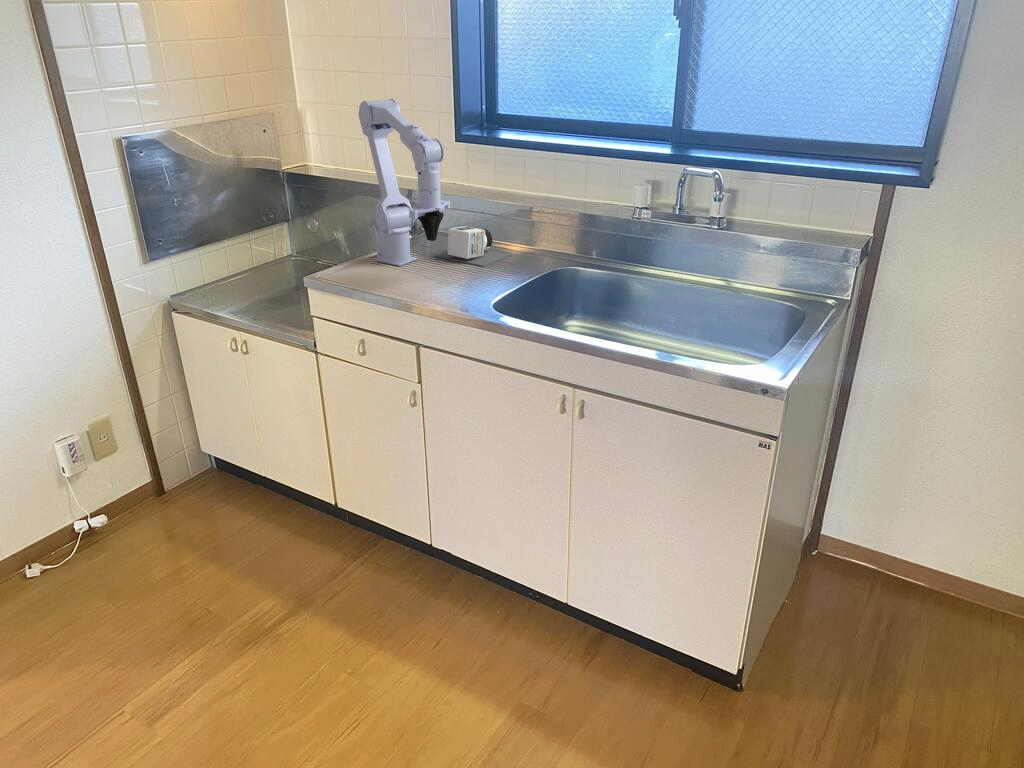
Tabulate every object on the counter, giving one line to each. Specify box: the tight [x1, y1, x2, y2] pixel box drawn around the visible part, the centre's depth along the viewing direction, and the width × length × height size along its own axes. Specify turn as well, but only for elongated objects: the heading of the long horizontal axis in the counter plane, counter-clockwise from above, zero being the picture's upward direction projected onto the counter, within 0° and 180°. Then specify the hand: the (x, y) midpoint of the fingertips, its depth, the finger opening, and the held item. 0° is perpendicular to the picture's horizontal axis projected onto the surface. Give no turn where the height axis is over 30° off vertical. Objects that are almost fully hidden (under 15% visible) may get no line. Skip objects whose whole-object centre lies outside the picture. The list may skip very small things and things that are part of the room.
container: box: [447, 225, 493, 259], centre depth 227 cm, size 8×8×13 cm
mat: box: [434, 249, 511, 268], centre depth 229 cm, size 18×13×1 cm
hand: (431, 240), depth 207 cm, fingers closed
